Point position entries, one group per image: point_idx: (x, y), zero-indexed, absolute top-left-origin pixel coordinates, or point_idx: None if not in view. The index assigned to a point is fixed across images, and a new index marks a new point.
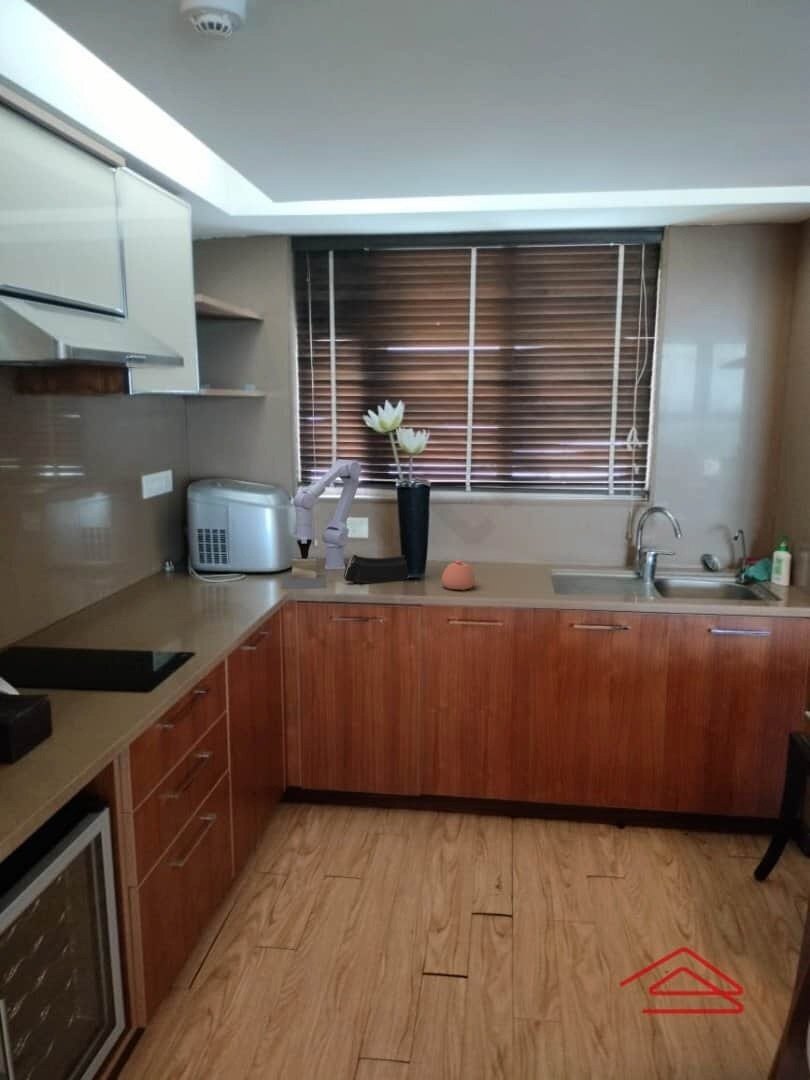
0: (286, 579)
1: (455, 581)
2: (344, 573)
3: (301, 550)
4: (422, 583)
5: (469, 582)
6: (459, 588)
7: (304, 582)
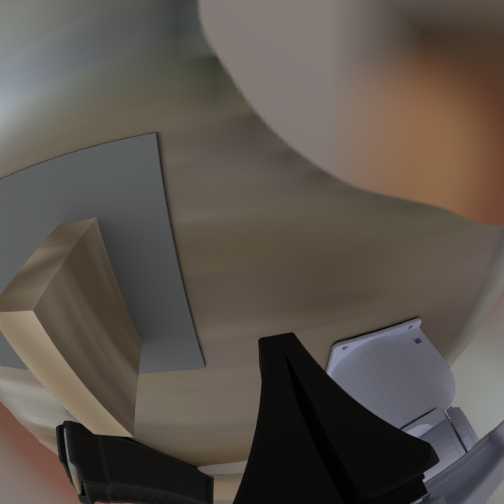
0: (30, 193)
1: None
2: (68, 438)
3: (267, 418)
4: None
5: None
6: None
7: None
